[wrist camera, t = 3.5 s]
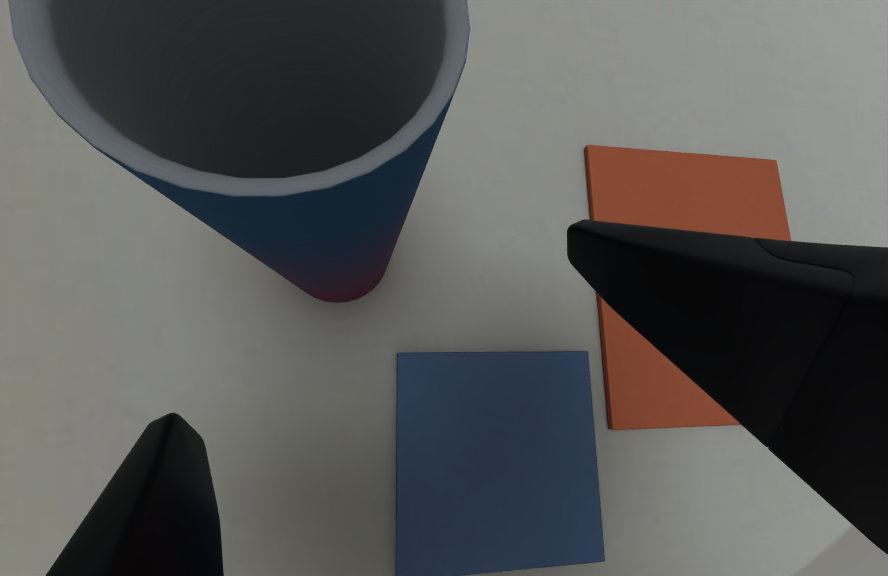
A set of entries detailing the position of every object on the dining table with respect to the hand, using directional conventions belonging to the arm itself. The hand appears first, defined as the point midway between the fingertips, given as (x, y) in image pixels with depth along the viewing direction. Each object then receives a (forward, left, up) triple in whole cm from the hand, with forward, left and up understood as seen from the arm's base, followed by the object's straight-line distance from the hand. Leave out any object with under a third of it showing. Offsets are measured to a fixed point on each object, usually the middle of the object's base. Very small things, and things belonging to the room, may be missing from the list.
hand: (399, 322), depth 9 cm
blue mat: (-5, -6, -12) cm, 14 cm away
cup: (+5, +2, -12) cm, 13 cm away
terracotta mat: (+4, -18, -12) cm, 22 cm away
